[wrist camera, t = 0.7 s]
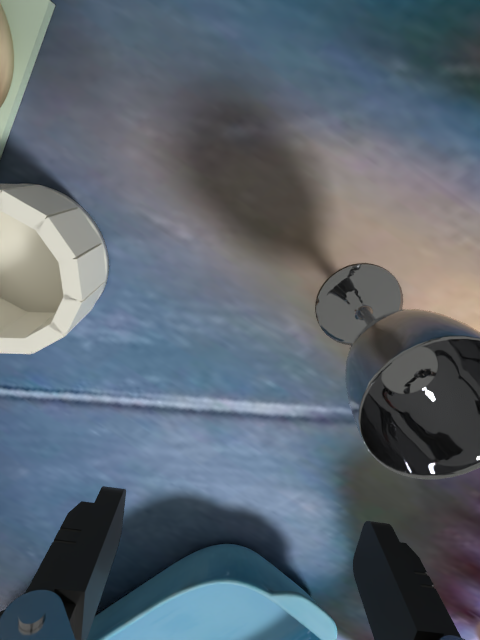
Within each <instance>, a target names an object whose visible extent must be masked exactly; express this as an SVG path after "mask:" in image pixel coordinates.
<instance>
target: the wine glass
mask: <svg viewBox="0 0 480 640" xmlns="http://www.w3.org/2000/svg"><path fill="white" fill-rule="evenodd" d="M402 306H403V294H402V290H401V287H400V285H399V283H398V281H397V280H396V278H395V277H394V276H393V275H392V274H391V273H390V272H389V271H387V270H385V269H384V268H382V267H379V266H376V265H371V264H357V265H351V266H349V267H346V268H343V269H341V270H340V271H338V272H336V273H335V274H334V275H332V276H331V277H330V278H329V279H328V280H327V281H326V282H325V284H324V285H323V287H322V288H321V290H320V292H319V295H318V297H317V302H316V316H317V320H318V323H319V325H320V327H321V328H322V330H323V331H324V332H325V333H326V335H328V336H329V337H330V338H332V339H333V340H335V341H337V342H339V343H342V344H347V345H351V347H350V350H349V353H348V357H347V361H346V388H347V394H348V400H349V405H350V407H351V410H352V413H353V416H354V419H355V422H356V425H357V428H358V430H359V432H360V435H361V437H362V439H363V441H364V443H365V445H366V447H367V448H368V450H369V451H370V453H371V454H372V455H373V457H374V458H375V459H376V460H377V461H378V462H379V463H381V464H382V465H384V466H385V467H386V468H388V469H390V470H392V471H394V472H396V473H398V474H401V475H404V476H408V477H411V478H419V479H442V478H449V477H454V476H458V475H461V474H465V473H468V472H470V471H473V470H475V469H477V468H480V332H479V331H477V330H476V329H474V328H472V327H470V326H469V325H467V324H465V323H463V322H461V321H458V320H456V319H454V318H451V317H448V316H445V315H442V314H439V313H435V312H432V311H426V310H419V309H404V310H402Z"/></svg>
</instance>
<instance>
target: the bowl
mask: <svg viewBox="0 0 480 640" xmlns="http://www.w3.org/2000/svg"><path fill="white" fill-rule="evenodd" d="M108 273H109V257H108V251H107V247H106V244H105V241H104V238H103V236H102V234H101V231H100V230H99V228H98V226H97V225H96V223H95V222H94V220H93V219H92V218H91V216H90V215H89V214H88V213H87V212H86V211H85V210H84V209H83V208H82V207H81V206H80V205H79V204H78V203H77V202H75V201H74V200H73V199H71V198H70V197H68V196H67V195H65V194H63V193H61V192H59V191H57V190H55V189H52V188H49V187H46V186H42V185H38V184H28V183H25V184H0V353H10V354H32V353H35V352H37V351H39V350H41V349H42V348H44V347H46V346H48V345H50V344H52V343H54V342H55V341H57V340H59V339H61V338H63V337H65V336H66V335H67V334H68V333H69V332H70V331H71V330H72V329H73V328H74V327H75V326H76V325H77V324H78V323H79V322H80V321H81V320H82V319H83V318H84V317H85V316H86V315H87V314H88V313H89V312H90V311H91V310H92V308H93V306H94V304H95V303H96V301H97V300H98V299H99V298H100V296H101V294H102V293H103V291H104V288H105V286H106V283H107V279H108Z"/></svg>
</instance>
